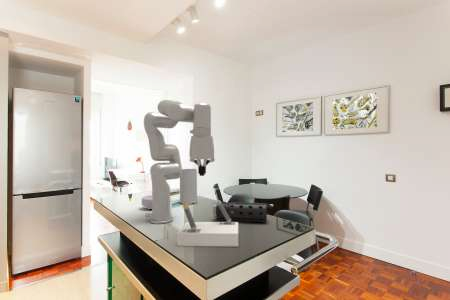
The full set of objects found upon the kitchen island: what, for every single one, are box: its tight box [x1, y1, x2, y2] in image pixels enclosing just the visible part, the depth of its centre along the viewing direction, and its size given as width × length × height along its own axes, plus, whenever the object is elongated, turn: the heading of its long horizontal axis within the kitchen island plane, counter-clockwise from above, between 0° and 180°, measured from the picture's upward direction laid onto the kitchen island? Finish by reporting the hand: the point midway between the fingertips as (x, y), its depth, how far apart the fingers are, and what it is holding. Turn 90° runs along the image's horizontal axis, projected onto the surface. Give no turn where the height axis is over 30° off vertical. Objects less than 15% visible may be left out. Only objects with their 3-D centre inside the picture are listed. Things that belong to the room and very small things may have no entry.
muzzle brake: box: [212, 200, 268, 223], centre depth 131 cm, size 10×28×10 cm, turn 78°
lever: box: [216, 199, 232, 224], centre depth 109 cm, size 2×4×11 cm
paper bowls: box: [141, 194, 152, 210], centre depth 164 cm, size 15×15×8 cm
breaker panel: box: [176, 221, 239, 247], centre depth 104 cm, size 24×16×5 cm
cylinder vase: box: [179, 168, 198, 205], centre depth 181 cm, size 12×12×25 cm
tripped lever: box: [182, 203, 197, 231], centre depth 99 cm, size 2×4×11 cm, turn 177°
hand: (202, 175), depth 104 cm, fingers closed
